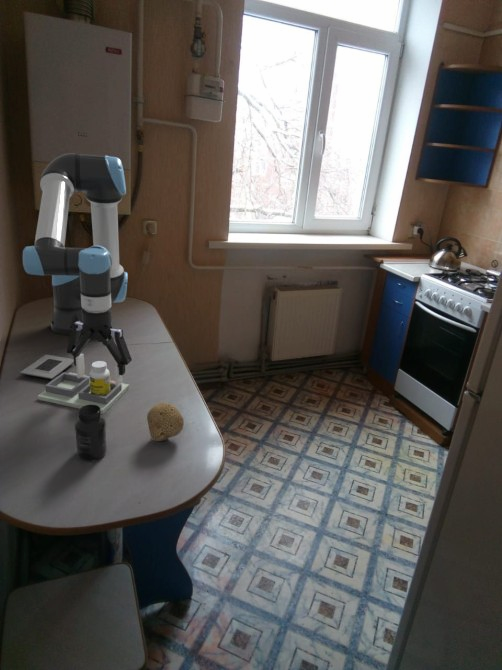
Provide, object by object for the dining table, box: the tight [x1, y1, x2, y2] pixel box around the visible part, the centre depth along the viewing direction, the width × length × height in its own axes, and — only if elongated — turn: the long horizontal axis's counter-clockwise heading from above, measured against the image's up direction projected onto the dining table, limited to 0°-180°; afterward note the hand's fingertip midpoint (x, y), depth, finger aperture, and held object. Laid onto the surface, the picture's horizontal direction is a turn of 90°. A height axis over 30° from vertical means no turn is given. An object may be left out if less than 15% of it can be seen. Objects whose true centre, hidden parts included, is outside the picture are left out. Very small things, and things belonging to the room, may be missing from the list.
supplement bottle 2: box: [74, 405, 108, 462], centre depth 106 cm, size 7×7×12 cm
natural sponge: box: [146, 402, 184, 442], centre depth 113 cm, size 9×9×10 cm
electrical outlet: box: [19, 354, 74, 380], centre depth 142 cm, size 13×10×2 cm
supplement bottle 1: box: [89, 360, 111, 396], centre depth 128 cm, size 5×5×10 cm
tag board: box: [37, 371, 130, 415], centre depth 131 cm, size 15×20×3 cm
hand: (100, 380), depth 128 cm, fingers open, 11 cm apart
